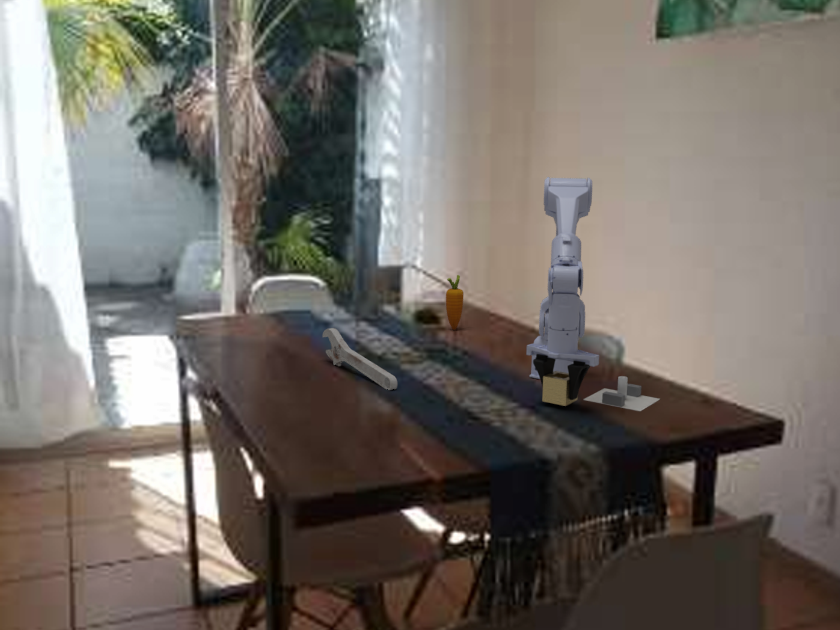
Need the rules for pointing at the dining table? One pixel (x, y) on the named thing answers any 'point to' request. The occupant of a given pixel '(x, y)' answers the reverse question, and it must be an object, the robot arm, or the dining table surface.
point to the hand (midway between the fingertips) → (560, 396)
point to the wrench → (357, 360)
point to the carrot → (454, 303)
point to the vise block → (623, 396)
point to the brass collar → (556, 388)
